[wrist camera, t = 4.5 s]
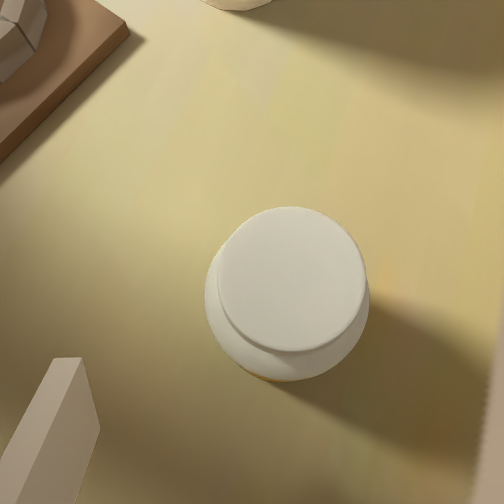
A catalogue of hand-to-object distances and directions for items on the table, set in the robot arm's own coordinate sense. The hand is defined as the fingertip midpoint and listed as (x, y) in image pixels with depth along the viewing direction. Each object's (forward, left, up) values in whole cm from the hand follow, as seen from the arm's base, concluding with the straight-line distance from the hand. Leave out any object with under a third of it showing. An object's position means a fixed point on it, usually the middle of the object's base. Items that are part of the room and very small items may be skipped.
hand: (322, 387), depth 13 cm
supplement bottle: (-2, +2, -8) cm, 9 cm away
